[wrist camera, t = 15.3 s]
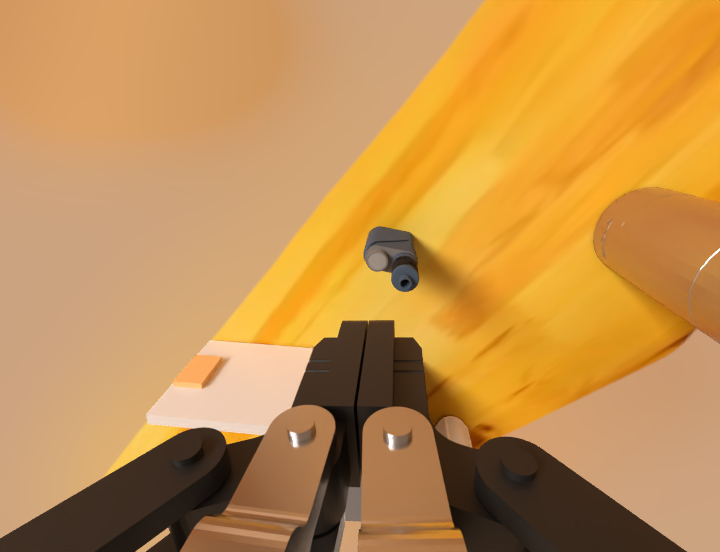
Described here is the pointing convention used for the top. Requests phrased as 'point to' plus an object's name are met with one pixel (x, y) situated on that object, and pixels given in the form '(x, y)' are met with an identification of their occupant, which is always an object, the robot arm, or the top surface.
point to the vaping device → (393, 256)
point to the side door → (233, 387)
